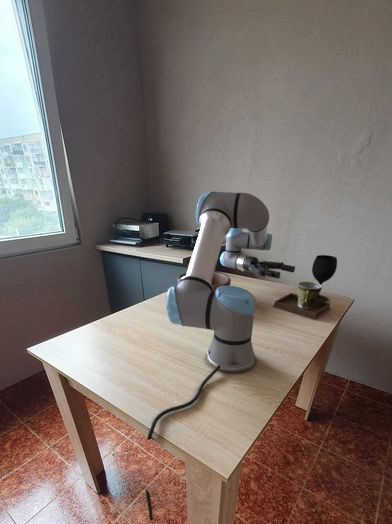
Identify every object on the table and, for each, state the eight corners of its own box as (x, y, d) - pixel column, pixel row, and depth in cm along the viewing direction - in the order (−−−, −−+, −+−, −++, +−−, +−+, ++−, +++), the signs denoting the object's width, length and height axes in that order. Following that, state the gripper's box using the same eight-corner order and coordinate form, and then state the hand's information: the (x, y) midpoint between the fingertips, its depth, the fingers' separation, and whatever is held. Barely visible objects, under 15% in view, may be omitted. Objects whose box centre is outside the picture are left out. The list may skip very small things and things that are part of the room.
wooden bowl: (197, 287, 155) (197, 267, 150) (238, 297, 142) (240, 276, 137) (167, 300, 137) (166, 279, 132) (210, 313, 125) (211, 290, 120)
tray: (314, 319, 121) (316, 313, 120) (273, 307, 133) (274, 301, 131) (329, 309, 131) (330, 303, 130) (289, 298, 142) (290, 292, 141)
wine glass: (330, 297, 144) (340, 256, 134) (325, 304, 136) (336, 261, 126) (308, 293, 149) (317, 253, 138) (303, 299, 141) (312, 257, 131)
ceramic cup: (295, 300, 137) (299, 280, 132) (317, 304, 134) (322, 283, 129) (291, 310, 127) (296, 289, 122) (315, 314, 124) (321, 292, 118)
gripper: (260, 266, 152) (298, 275, 140) (232, 276, 136) (271, 286, 124) (262, 252, 148) (301, 259, 136) (233, 260, 133) (274, 269, 120)
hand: (287, 272), depth 130 cm, fingers open, 13 cm apart
